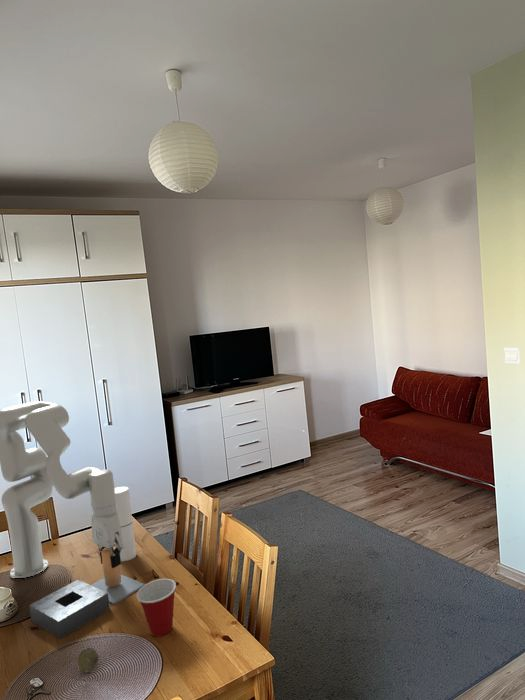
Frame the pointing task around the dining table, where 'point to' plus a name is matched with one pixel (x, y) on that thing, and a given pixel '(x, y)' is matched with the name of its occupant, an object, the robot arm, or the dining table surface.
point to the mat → (119, 588)
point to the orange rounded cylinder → (110, 569)
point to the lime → (88, 660)
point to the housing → (69, 608)
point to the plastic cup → (158, 605)
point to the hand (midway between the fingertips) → (111, 563)
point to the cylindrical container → (125, 523)
